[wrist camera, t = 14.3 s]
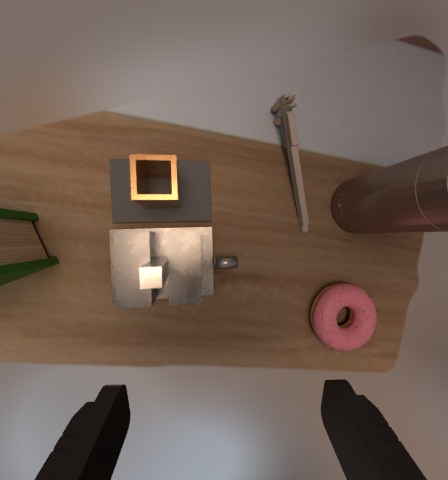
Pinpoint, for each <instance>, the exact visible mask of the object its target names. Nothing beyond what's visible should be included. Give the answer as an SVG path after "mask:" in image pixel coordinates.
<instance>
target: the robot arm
mask: <svg viewBox="0 0 448 480" xmlns="http://www.w3.org/2000/svg"><path fill="white" fill-rule="evenodd" d="M332 213H333V216H334V218H335V220H336V222H337V223H338V225H339V226H340V227H341V228H343V229H344V230H346V231H348V232H351V233H399V232H448V146H445V147H443V148H440V149H437V150H434V151H431V152H429V153H426V154H423V155H420V156H417V157H414V158H411V159H408V160H405V161H403V162H400V163H397V164H394V165H391V166H388V167H385V168H382V169H380V170H377V171H374V172H371V173H368V174H365V175H362V176H359V177H356V178H353V179H351V180H348V181H346V182H344V183H343V184H341V185H340V186H339V187H338V189H337V190H336V191H335V193H334V196H333V199H332ZM321 416H322V421H323V424H324V427H325V429H326V431H327V434H328V436H329V439H330V441H331V444H332V445H333V448H334V451H335V453H336V455H337V458H338V460H339V462H340V465H341V467H342V469H343V472H344V474H345V476H346V479H347V480H427V479H426V478H425V477H424V475H423V474H422V472H421V471H420V469H419V468H418V466H417V465H416V463H415V462H414V460H413V459H412V458H411V456H410V455H409V453H408V452H407V450H406V449H405V448H404V446H403V444H402V443H401V442H400V441H399V440H398V437H397V436H396V434H395V433H394V431H393V430H392V428H391V427H389V425H388V423H387V421H386V420H385V418H384V417H383V415H382V414H381V412H380V411H379V410H378V408H377V407H376V406H375V405H374V404H372V403H371V402H370V401H369V400H368V399H367V398H366V397H365V396H364V395H356V393H355V392H354V390H353V388H352V387H351V385H350V384H349V382H348V381H346V380H326V381H325V383H324V390H323V396H322V403H321ZM129 423H130V408H129V402H128V395H127V389H126V386H125V385H105V386H103V388H102V389H101V391H100V392H99V394H98V396H97V398H96V400H95V402H87V403H86V404H85V405H84V406H83V407H82V408H81V409H80V410H79V411H78V412H77V413H76V414H75V415H74V416H73V417H72V419H71V420H70V422H69V424H68V425H67V427H66V429H65V430H64V432H63V435H62V437H60V439H59V440H58V442H57V443H56V445H55V447H54V450H53V452H51V453H50V455H49V457H48V458H47V460H46V462H45V463H44V465H43V467H42V468H41V470H40V472H39V473H38V475H37V477H36V478H35V480H111V477H112V474H113V471H114V468H115V466H116V463H117V460H118V457H119V454H120V452H121V448H122V446H123V443H124V440H125V437H126V434H127V431H128V428H129Z"/></svg>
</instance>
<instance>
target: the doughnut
mask: <svg viewBox="0 0 448 480" xmlns="http://www.w3.org/2000/svg"><path fill="white" fill-rule="evenodd" d="M370 297H371V296H370V295H368V294H367V292H365V291H364V289H361V288H360V287H358V285H357V286H356V285H354V284H350V283H337V284H333V285H330V286H328V287H326V288H325V289H323V290H322V291H321V292H320V293H319V294H318V295H317V297H316V298H315V300H314V302H313V305H312V308H311V324H312V327H313V330H314V332H315V334H316V335H317V336H318V338H319V339H320V341H321V342H322V343H323V344H325V345H326V346H328V347H330V348H332V349H333V350H334V349H336V350H340V351H350V350H354V349H356V348H358V349H359V347H361V346H362V345H364V344H365V343H366V342H367V341H368V340H369V339H370V338H371V336H372V334H373V332H374V330H375V327H376V321H377V313H376V312H378V311H377V310H376V308H375V305H374V304H375V303H373V301H372V299H371V298H370ZM343 307H348V308H349V312H350V313H349V318H348V320H347V322H346V323H345V324H343V325H341V326H339V325H338V324H337V321H336V319H337V314H338V312H339V311H340V310H341V309H342V308H343ZM374 333H375V332H374Z"/></svg>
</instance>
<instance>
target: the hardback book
mask: <svg viewBox="0 0 448 480" xmlns="http://www.w3.org/2000/svg"><path fill="white" fill-rule="evenodd" d="M38 220H39V218H38V216H37V214H36V213H29V212H22V211H16V210H9V209H2V208H0V286H1V285H3V284H6V283H8V282H11V281H14V280H16V279H19V278H21V277H24V276H27V275H29V274H32V273H34V272H37V271H40V270H42V269H45V268H47V267H50V266H53V265H55V264H58V263H59V261H58V259H57V257H52V258H48V257H47V255H46V253H45V250H44V248H43V246H42V244H41V242H40V240H39V237H38V235H37V233H36V231H35V229H34V227H33V225H32V222H35V221H38Z"/></svg>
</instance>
